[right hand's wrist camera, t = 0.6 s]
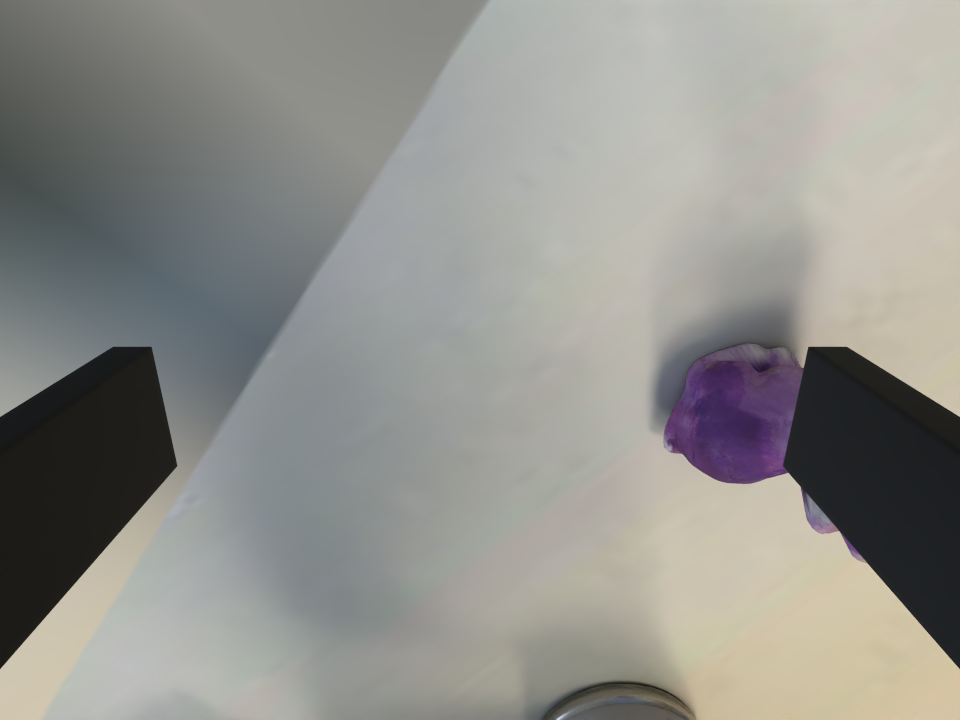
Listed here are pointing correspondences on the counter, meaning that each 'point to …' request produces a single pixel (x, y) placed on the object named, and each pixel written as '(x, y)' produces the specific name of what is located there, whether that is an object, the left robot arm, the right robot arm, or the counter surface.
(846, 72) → the counter surface
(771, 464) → the figurine
